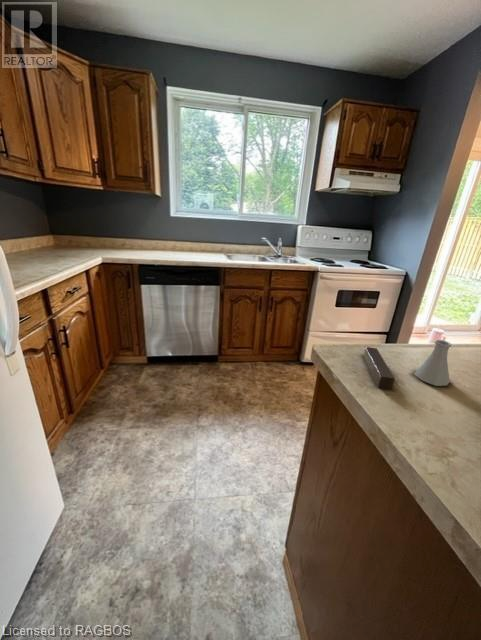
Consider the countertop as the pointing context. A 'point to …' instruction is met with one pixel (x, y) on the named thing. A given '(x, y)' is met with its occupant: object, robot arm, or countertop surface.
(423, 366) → the flask
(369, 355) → the rail
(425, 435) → the countertop surface
